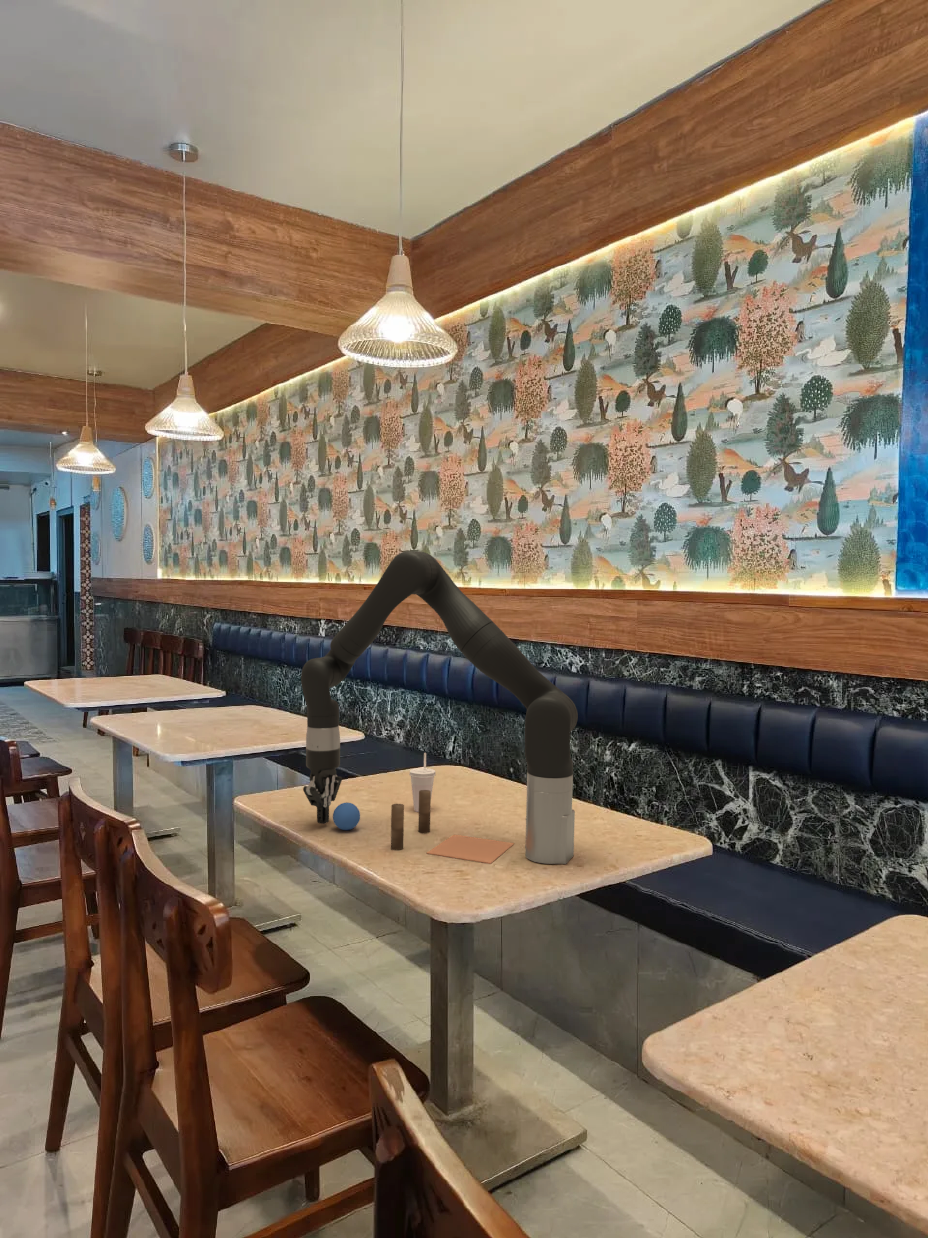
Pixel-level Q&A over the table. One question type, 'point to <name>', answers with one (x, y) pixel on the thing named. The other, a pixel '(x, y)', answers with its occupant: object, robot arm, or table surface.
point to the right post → (424, 811)
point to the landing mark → (471, 848)
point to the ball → (346, 816)
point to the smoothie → (421, 782)
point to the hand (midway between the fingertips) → (323, 822)
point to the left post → (397, 826)
